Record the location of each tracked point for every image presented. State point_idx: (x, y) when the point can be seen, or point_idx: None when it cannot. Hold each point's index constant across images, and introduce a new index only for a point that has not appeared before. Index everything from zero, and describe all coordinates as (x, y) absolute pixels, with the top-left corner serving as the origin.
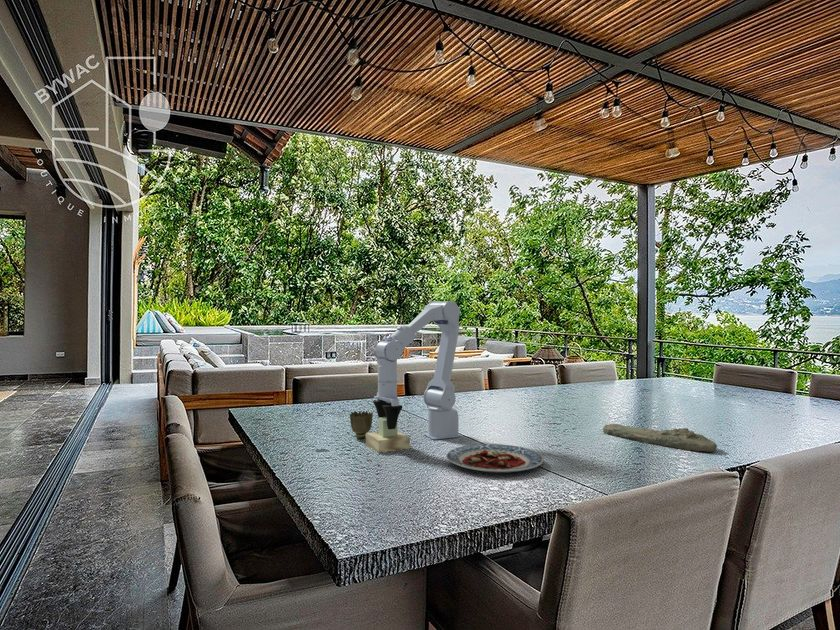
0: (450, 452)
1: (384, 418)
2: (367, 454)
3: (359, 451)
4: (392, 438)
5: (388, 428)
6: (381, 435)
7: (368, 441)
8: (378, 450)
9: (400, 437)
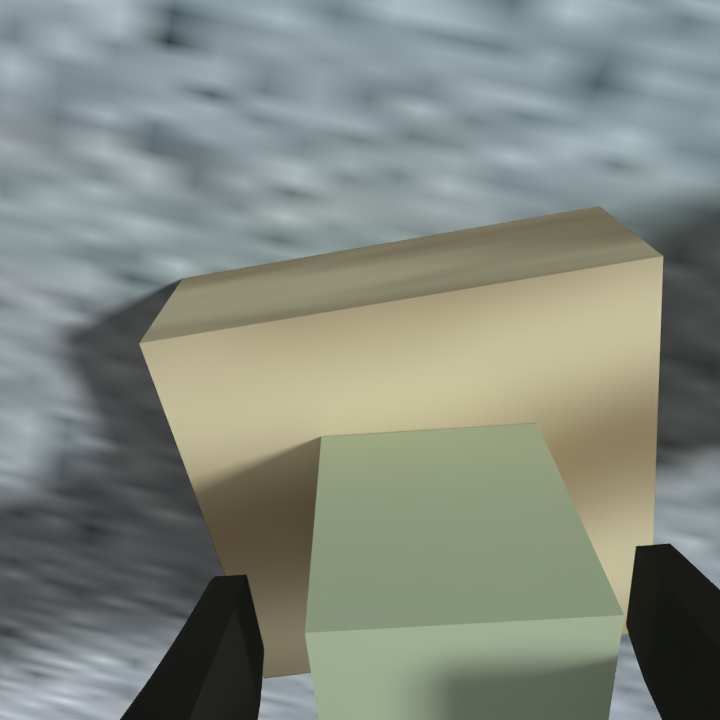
0: None
1: (480, 682)
2: (143, 134)
3: (315, 56)
4: (229, 521)
5: (210, 583)
6: (400, 436)
7: (518, 244)
8: (179, 289)
9: (261, 602)
